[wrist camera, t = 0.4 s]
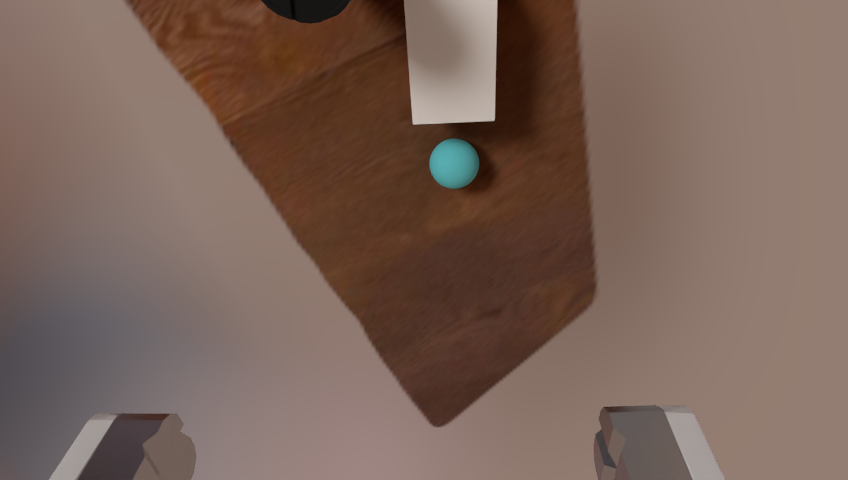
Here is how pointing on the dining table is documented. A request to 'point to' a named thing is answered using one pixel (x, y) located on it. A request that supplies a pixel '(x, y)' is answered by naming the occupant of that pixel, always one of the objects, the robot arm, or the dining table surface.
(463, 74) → the off-white rectangular block
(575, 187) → the dining table surface
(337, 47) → the dining table surface
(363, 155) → the dining table surface
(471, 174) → the ball
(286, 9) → the travel mug
